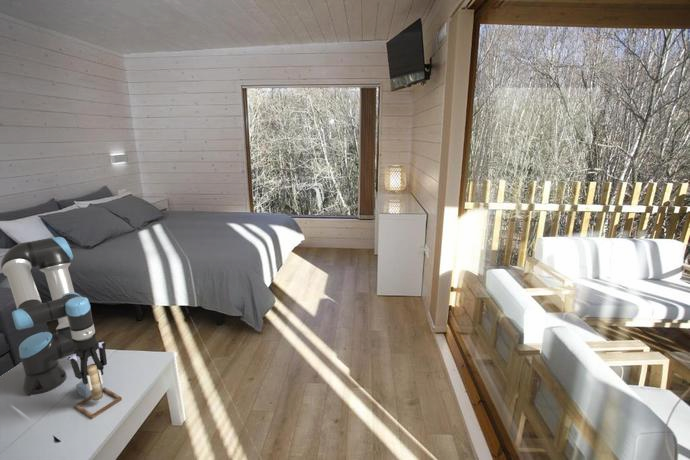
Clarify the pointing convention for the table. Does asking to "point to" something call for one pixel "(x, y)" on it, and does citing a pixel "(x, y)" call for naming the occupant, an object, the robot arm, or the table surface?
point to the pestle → (94, 382)
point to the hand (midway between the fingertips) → (95, 385)
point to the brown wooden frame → (117, 399)
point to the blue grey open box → (84, 390)
